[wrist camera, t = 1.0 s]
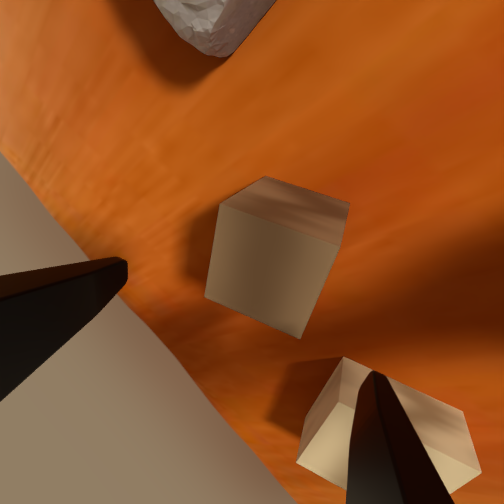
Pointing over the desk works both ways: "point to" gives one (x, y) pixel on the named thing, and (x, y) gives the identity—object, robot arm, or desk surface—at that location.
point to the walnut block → (275, 252)
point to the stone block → (214, 22)
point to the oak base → (416, 407)
